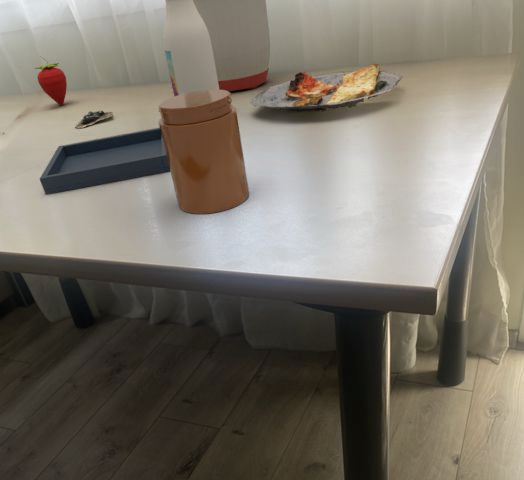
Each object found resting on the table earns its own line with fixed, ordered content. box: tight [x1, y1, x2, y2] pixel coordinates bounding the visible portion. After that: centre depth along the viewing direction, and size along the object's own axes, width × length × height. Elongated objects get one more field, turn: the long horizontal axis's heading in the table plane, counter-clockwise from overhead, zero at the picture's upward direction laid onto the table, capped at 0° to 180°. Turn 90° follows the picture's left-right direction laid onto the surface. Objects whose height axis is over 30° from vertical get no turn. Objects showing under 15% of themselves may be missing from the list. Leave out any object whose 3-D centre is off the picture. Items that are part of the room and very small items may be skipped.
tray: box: [39, 127, 170, 195], centre depth 75 cm, size 17×16×2 cm
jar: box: [158, 90, 250, 215], centre depth 56 cm, size 8×8×10 cm
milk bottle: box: [162, 0, 219, 97], centre depth 86 cm, size 8×8×20 cm
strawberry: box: [34, 55, 68, 106], centre depth 116 cm, size 6×8×10 cm
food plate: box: [250, 63, 404, 113], centre depth 87 cm, size 25×23×4 cm
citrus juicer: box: [193, 0, 271, 92], centre depth 103 cm, size 16×17×20 cm
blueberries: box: [74, 110, 114, 129], centre depth 100 cm, size 7×8×2 cm
